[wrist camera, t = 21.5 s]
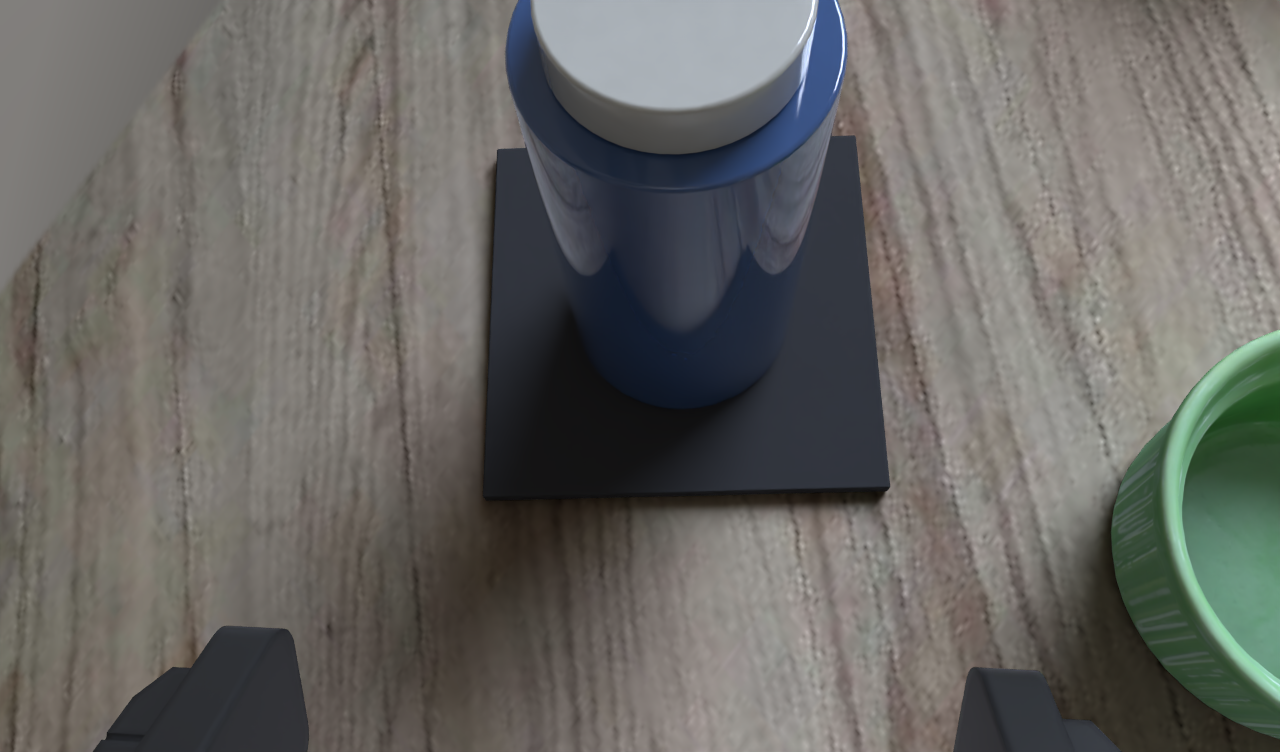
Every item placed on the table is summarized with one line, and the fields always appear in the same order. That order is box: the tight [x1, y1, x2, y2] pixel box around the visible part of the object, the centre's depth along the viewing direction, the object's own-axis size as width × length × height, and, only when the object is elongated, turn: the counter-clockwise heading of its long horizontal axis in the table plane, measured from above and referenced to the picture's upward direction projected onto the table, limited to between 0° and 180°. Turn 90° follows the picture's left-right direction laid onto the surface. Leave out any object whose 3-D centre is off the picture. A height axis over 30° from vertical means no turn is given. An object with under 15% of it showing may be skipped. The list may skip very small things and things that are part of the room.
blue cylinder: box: [505, 0, 848, 409], centre depth 21 cm, size 6×6×12 cm
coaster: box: [483, 136, 890, 501], centre depth 27 cm, size 10×10×1 cm
